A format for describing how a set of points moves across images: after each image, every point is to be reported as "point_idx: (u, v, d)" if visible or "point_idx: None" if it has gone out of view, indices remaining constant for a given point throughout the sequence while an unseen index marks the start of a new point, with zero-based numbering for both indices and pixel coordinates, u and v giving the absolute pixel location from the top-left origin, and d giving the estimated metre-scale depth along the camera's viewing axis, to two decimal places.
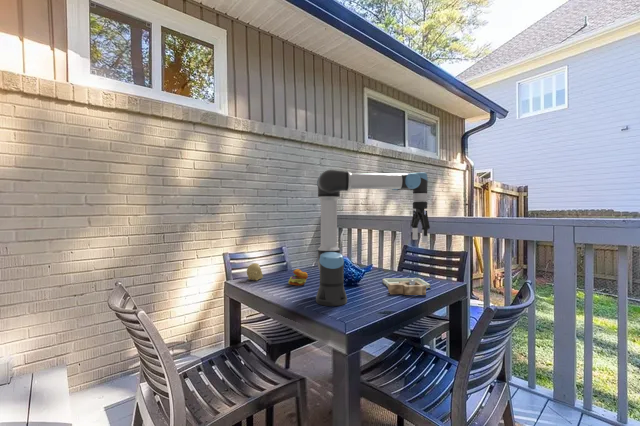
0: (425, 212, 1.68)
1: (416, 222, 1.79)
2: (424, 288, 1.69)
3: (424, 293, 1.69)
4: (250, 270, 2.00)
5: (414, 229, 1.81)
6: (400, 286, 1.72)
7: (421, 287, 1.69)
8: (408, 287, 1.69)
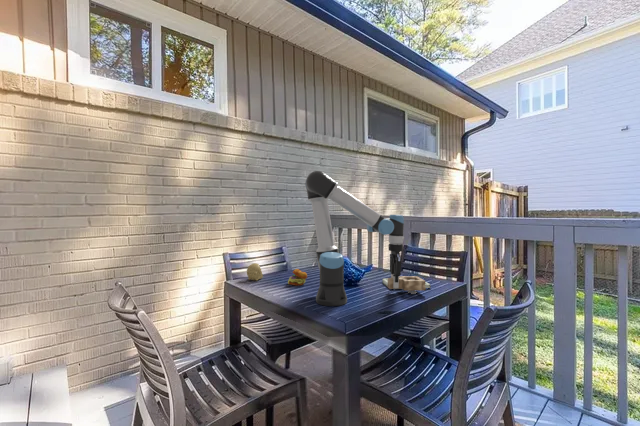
0: (399, 259, 1.67)
1: (394, 266, 1.75)
2: (423, 283, 1.69)
3: (423, 288, 1.69)
4: (250, 270, 2.00)
5: (393, 275, 1.75)
6: (399, 281, 1.72)
7: (420, 282, 1.69)
8: (407, 282, 1.69)
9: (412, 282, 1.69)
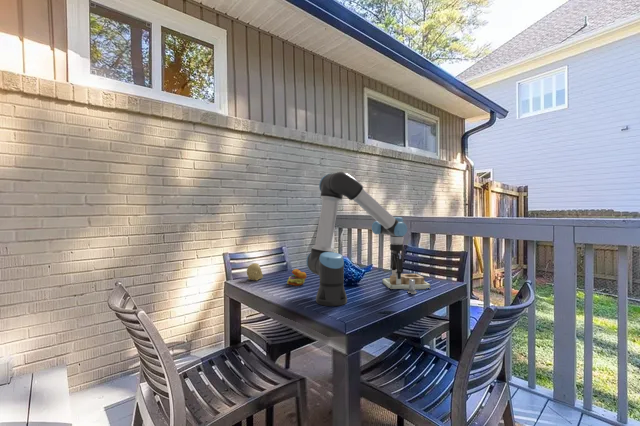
0: (400, 257, 1.83)
1: (394, 263, 1.93)
2: (422, 279, 1.86)
3: None
4: (250, 270, 2.00)
5: (393, 271, 1.94)
6: (401, 278, 1.89)
7: (420, 278, 1.86)
8: (408, 278, 1.85)
9: None
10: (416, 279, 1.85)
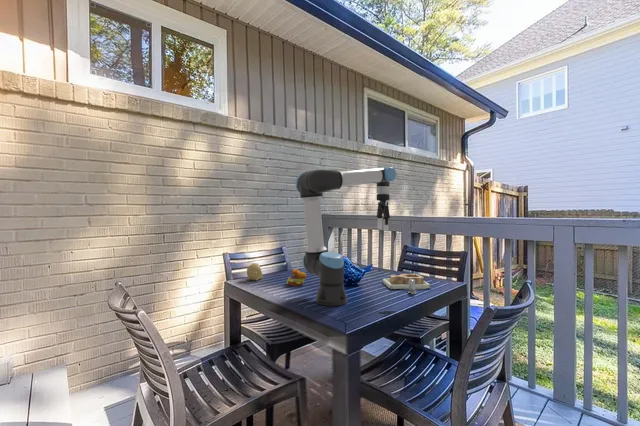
0: (386, 203, 1.85)
1: (380, 213, 1.97)
2: (422, 279, 1.86)
3: None
4: (250, 270, 2.00)
5: (379, 219, 1.98)
6: (401, 278, 1.89)
7: (420, 278, 1.86)
8: (408, 278, 1.85)
9: None
10: (416, 279, 1.85)
